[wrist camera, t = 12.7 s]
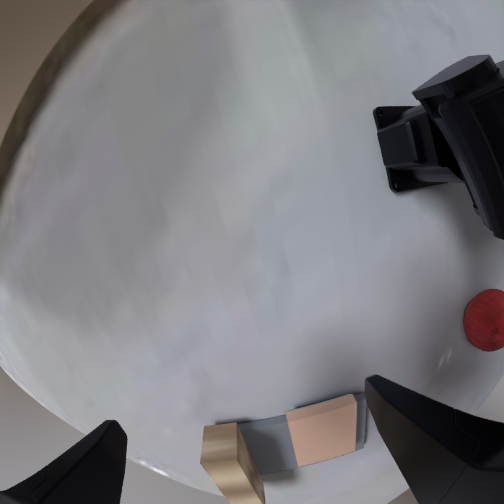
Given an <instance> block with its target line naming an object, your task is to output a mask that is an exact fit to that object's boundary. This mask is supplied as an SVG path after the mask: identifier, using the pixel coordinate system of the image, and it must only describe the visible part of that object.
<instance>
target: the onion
mask: <svg viewBox="0 0 504 504" xmlns="http://www.w3.org/2000/svg"><path fill="white" fill-rule="evenodd" d="M464 329H465V333H466V336H467V339H468V341H469V342H470V343H471V344H472V345H473V346H475V347H477V348H479V349H480V350H482V351H487V352H490V351H495V350H498V349H501V348H502V347H504V292H503V291H501V290H498V289H489V290H485V291H483V292H481V293H479V294H478V295H477V296H476V297H475V298H473V299H472V300H471V301H470V302H469V303H468V304H467V306H466V310H465V314H464Z"/></svg>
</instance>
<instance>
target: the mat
mask: <svg viewBox="0 0 504 504" xmlns="http://www.w3.org/2000/svg"><path fill="white" fill-rule="evenodd" d="M353 396H354V398H355V400H356V402H357V421H356V444H355V451H357V450H360V449H363V448H364V437H365V421H366V399H365V395H364V394H363V392H362V393H359V394H356V395H353ZM237 425H238V427H239V429H240V432H241V434H242V436H243V439H244V441H245V443H246V445H247V448H248V450H249V452H250V454H251V456H252V459H253V461H254V463H255V465H256V467H257V469H258V471H259V473H260V475H262V474H268V473H274V472H279V471H284V470H289V469H294V468H298V464H297V460H296V456H295V451H294V447H293V443H292V439H291V434H290V430H289V426H288V422H287V417H286V415H282V416H278V417H273V418H268V419H263V420H258V421H252V422H246V423H240V424H237ZM353 452H354V451H353ZM350 453H351V452H350ZM347 454H348V453H347ZM344 455H345V454H344ZM341 456H342V455H341ZM338 457H339V456H338ZM334 458H336V457H334ZM331 459H332V458H331ZM327 460H329V459H327ZM324 461H326V460H324ZM320 462H322V461H320ZM316 463H318V462H316ZM313 464H315V463H313ZM308 465H311V464H308ZM304 466H307V465H304ZM300 467H303V466H300Z"/></svg>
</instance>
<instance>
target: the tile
mask: <svg viewBox="0 0 504 504" xmlns="http://www.w3.org/2000/svg"><path fill="white" fill-rule="evenodd" d="M285 413H286V417H287V422H288V426H289V430H290V434H291V439H292V443H293V447H294V451H295V456H296V460H297V464H298V467H300V466H304V465H308V464H313V463H316V462H320V461H324V460H327V459H331V458H334V457H338V456H341V455H344V454H347V453H350V452H353V451H355V444H356V421H357V402H356V400H355V398H354V396H353V394H346V395H343V396H340V397H337V398H334V399H330V400H327V401H323V402H320V403H316V404H313V405H309V406H305V407H301V408H297V409H293V410H288V412H285Z"/></svg>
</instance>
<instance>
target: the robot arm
mask: <svg viewBox="0 0 504 504" xmlns="http://www.w3.org/2000/svg"><path fill="white" fill-rule="evenodd" d="M412 94H413V95H414V97H415V98H416V100H419V101H420V103H421V105H419V106H384V107H377V108H375V109H374V110H373V115H374V119H375V123H376V127H377V130H378V133H377V136H378V140H379V144H380V148H381V153H382V158H383V162H384V165H385V166H386V171H387V176H388V182H389V187H390V189H391V190H392V191H394V192H399V191H405V190H410V189H416V188H421V187H427V186H433V185H439V184H444V183H449V182H459V183H465V185H466V187H467V189H468V191H469V194H470V196H471V199H472V201H473V204H474V205H473V207H474V210H475V212H476V214H478V215H479V216H480V217H481V219H482V221H483V224H484V225H486V226H487V227H488V228H489V229H490V230H491V231H493V234H494V236H495V237H497V238H500V239H503V240H504V61H501V62H498V63H496V64H495V63H494V61H493V59H492V58H491V56H490V55H477V56H468V57H466V58H464V59H462V60H460V61H458V62H456V63H454V64H452V65H451V66H449V67H447V68H445V69H444V70H442V71H441V72H439V73H438V74H437V75H435V76H434V77H432V78H431V79H429V80H428V81H427V82H425V83H424V84H422V85H421V86H420V87H418V88H417V89H415V90H414V91H413V92H412ZM378 111H380V112H381V114H382V116H380V115H379V113H378ZM395 182H396V183H397V188H396V187H395ZM365 399H366V402H367V404H368V406H369V409H370V411H371V414H372V416H373V419H374V421H375V424H376V426H377V429H378V431H379V433H380V435H381V437H382V439H383V441H384V442H385V444H386V446H387V448H388V449H389V451H390V453H391V455H392V457H393V458H394V460H395V462H396V464H397V465H398V467H399V469H400V471H401V473H402V474H403V476H404V478H405V480H406V482H407V483H408V485H409V487H410V489H411V491H412V492H413V494H414V496H415V498H416V500H417V502H418V503H419V504H504V423H502V422H497V421H493V420H488V419H484V418H481V417H477V416H474V415H471V414H468V413H465V412H463V411H460V410H458V409H454V408H452V407H450V406H448V405H445V404H443V403H440V402H438V401H436V400H433V399H431V398H428V397H426V396H424V395H422V394H419V393H417V392H415V391H412V390H410V389H408V388H406V387H403V386H401V385H399V384H397V383H395V382H392V381H390V380H388V379H386V378H384V377H382V376H380V375H377V374H376V375H373V376H370V377H367V378H366V379H365ZM126 451H127V435H126V433H125V432H124V430H123V429H122V427H121V426H120V424H119V423H118V422H117V421H116V420H106V421H104V422H103V423H102V424H101V425H99V426H98V427H97V428H96V429H94V430H93V431H92V432H90V433H89V434H88V435H87V436H85V437H84V438H83V439H81V440H80V441H79V442H77V443H76V444H75V445H74V446H72V447H71V448H70V449H68V450H67V451H66V452H64V453H63V454H62V455H60V456H59V457H58V458H56V459H55V460H54V461H52V462H51V463H49V464H48V465H47V466H45V467H44V468H43V469H41V470H40V471H38V472H37V473H35V474H34V475H32V476H31V477H29V478H27V479H26V480H24V481H22V482H20V483H18V484H17V485H15V486H13V487H11V488H9V489H7V490H4V491H0V504H120V497H121V492H122V486H123V480H124V474H125V465H126Z"/></svg>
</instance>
